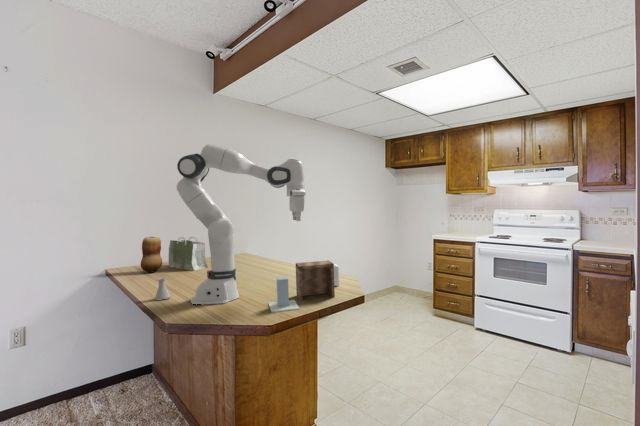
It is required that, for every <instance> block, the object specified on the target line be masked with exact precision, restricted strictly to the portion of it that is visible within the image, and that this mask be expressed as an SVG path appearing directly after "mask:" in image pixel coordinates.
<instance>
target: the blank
mask: <svg viewBox="0 0 640 426" xmlns="http://www.w3.org/2000/svg"><path fill="white" fill-rule="evenodd" d="M276 297H277V298H276V302H277V304H278V306H279V307H284V306H289V300H290V298H289V297H290V295H289V278H288V277H287V276H279V277H276Z"/></svg>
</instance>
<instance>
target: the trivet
mask: <svg viewBox="0 0 640 426" xmlns="http://www.w3.org/2000/svg"><path fill="white" fill-rule="evenodd" d="M268 305H269V309H270V313H271V314H272V313H280V312H287V311H296V310H300V307H299V305H298V303H297V301H296V300H295V299H289V306H284V307H279V306H278V304H277V301H272V302H271V301H270V302H268Z"/></svg>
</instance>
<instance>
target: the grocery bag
mask: <svg viewBox="0 0 640 426" xmlns="http://www.w3.org/2000/svg"><path fill="white" fill-rule="evenodd" d="M191 239H194V240H195V241H193V240H191ZM169 266H173V267H172V268H174V267H178V268H177V269H179V268H182V269H181V270H183V269H186V270H185V271H189V270H192V271H191V272H195V271H194V270H196V271H200V270H205V269H209V266H208V264H207V262H206V244H205V242H200V241H199V240H198V238H196V237H195V236H190V237H188V239H187V238H186V237H181V236H180V237H178V238H177V240H172V239H171V240H170V241H169V245H168V267H169Z"/></svg>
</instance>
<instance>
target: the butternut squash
mask: <svg viewBox="0 0 640 426" xmlns="http://www.w3.org/2000/svg"><path fill="white" fill-rule="evenodd" d="M161 251H162V240H161V238H160V237H158V236H147V237H144V238H143V240H142V243H141V252H142V256H141V257H142V258H141V260H140V268H141V269H142V271H144V272H146V273H147V272H150V273H154V272H153V271H155V272H156V271H158V270H159V269H161V267H162V266H163V258H162V256H161Z"/></svg>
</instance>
